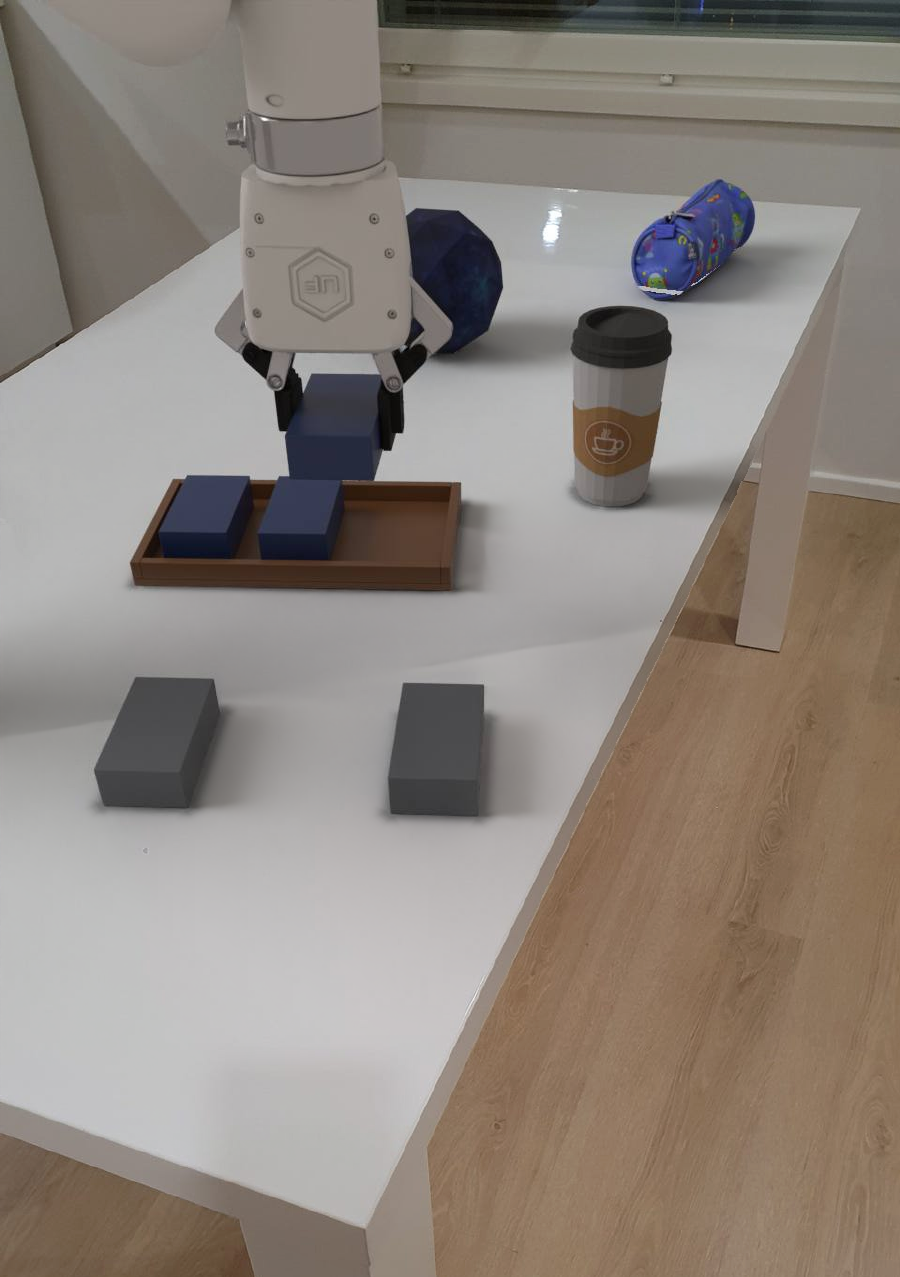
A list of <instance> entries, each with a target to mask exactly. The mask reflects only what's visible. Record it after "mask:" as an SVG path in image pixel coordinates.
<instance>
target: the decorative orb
mask: <svg viewBox="0 0 900 1277" xmlns="http://www.w3.org/2000/svg"><path fill="white" fill-rule="evenodd" d="M406 221H407V228H408V236H409V244H410V254H411V264H412V274H413V279H414V280H415V281H416V282H417V284H418V285H419V286H420V287H421V288H422V289H423V290H424V291H425V293H426V294H427V295H428V296H429V297H430V298H431V299H432V300H433V302H434V303H435V304H436V305H437V306H438V307H439V308H440V309H441V311H442V312H443V313H444V314H445V315H446V316H447V317H448V318H449V320H450V321H451V322H452V324H453V331H452V336H451V338H450V339H449V341H447V342H446V343H445V344H444V345H443V346H442V347H441V348H440V349H439V350H437V351H436V352H435V353H434V354H436V355H437V354H438V355H439V354H440V355H443V354H444V355H454V354H456V353H457V352H459V351H461V350H462V349H463V348H466V346H468V345H469V344H471V343H472V342H474V341H475V340H477V339H478V338H479V337H481V336H483V335H484V334H485V333H487V332H488V331H489V329H490V327H491V324H492V321H493V318H494V316H495V313H496V309H497V308H498V304H499V301H500V298H501V295H502V292H503V290H504V278H503V267H502V260H501V258H500V256H499V254H498V251H497V249H496V247H495V245H494V241H493V240H491V238H490V237H488V235H487V234H486V233H485V232H484V231H483V230H482V229H481V228H480V227H479V226H478V225H476V224H475V223H474V222H473V221H471V220H470V218H468V217H467V216H466V215H465V214H464V213H462V212H461V211H460V210H455V209H439V208H438V209H437V208H423V207H422V208H421V207H415V208H414V209H413V210H411V211H410V212H409V213H408V214H406ZM423 332H424V328H423V327H422V325H421V324H420V323H419V322H418V321H417V320H416V319H415V318H414V317H413V319H412V321H411V327H410V333H409V336H408V338H407V340H406V342H405V344H404V345H403V346H405V347H407V346H408V345H409V344H410V343H411V342H412V341H413V340H414V339H417V338H418V337H419V336H420V335H421V334H422V333H423ZM434 354H433V355H434Z"/></svg>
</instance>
